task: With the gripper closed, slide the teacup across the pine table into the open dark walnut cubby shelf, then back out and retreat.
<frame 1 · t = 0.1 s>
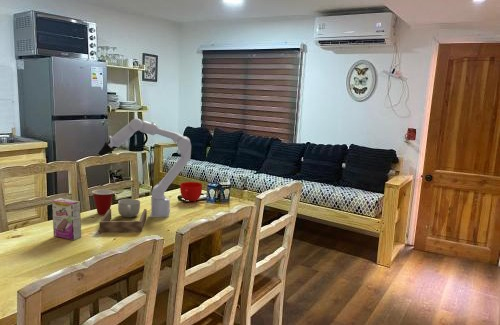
hand: (101, 153, 194), 32 cm above the table, tool tilted 50°, fingers open, 7 cm apart
teacup: (128, 217, 199), on the table
ceramic cup: (189, 202, 230), on the table
plastic cup: (104, 213, 203), on the table
cubby: (124, 224, 187), on the table
candy bar box: (67, 237, 170), on the table
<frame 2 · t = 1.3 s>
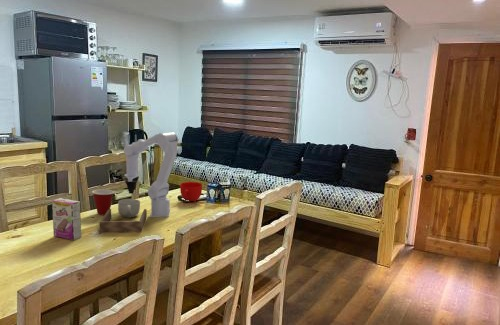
hand: (132, 191, 211), 10 cm above the table, tool pointing down, fingers open, 7 cm apart
nothing on the table moved.
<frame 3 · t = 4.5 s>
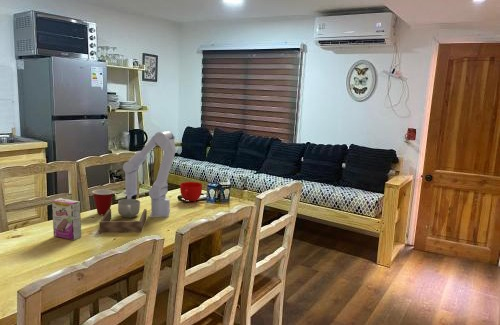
hand: (131, 208, 207), 1 cm above the table, tool pointing down, fingers closed
teacup: (128, 217, 199), on the table, touching gripper
everything else where it was.
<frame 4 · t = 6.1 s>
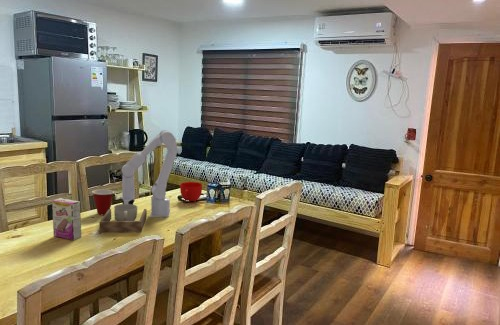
hand: (128, 214, 198), 1 cm above the table, tool pointing down, fingers closed
teacup: (125, 223, 190), on the table, touching gripper
everything else where it was.
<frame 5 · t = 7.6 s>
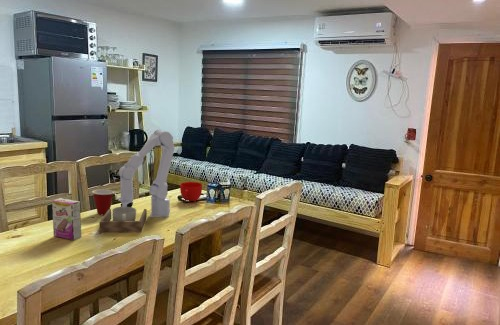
hand: (127, 217, 194), 1 cm above the table, tool pointing down, fingers closed
teacup: (124, 226, 185), on the table, touching cubby, gripper
everything else where it was.
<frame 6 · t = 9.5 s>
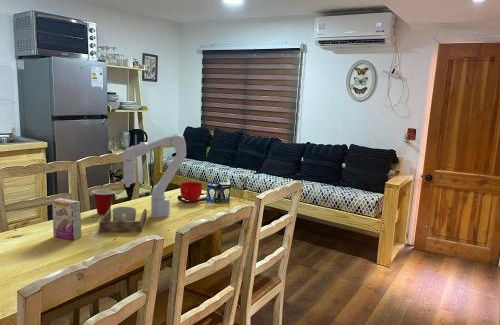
hand: (130, 197, 200), 9 cm above the table, tool pointing down, fingers closed
teacup: (124, 226, 185), on the table
everything else where it was.
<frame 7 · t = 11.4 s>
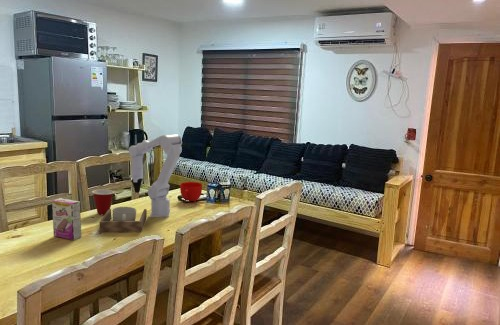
hand: (137, 192, 210), 9 cm above the table, tool pointing down, fingers closed
nothing on the table moved.
at the end: teacup inside the target area on the cubby (1.1 cm from its centre), point 0.0 cm above the cubby's base; teacup tilted 0° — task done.
